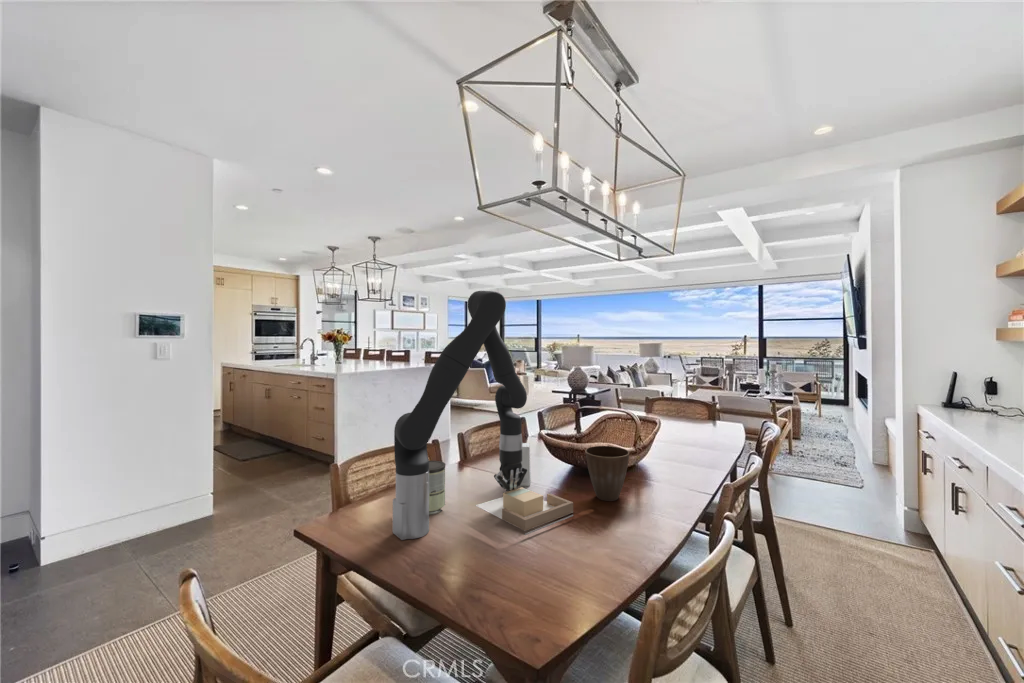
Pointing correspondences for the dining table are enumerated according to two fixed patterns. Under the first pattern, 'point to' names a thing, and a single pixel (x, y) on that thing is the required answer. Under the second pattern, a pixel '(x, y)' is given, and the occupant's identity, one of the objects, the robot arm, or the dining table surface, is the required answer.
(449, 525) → the dining table surface
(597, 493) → the plant pot
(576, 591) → the dining table surface
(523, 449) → the skincare box
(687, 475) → the dining table surface
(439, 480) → the coffee can
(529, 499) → the carton
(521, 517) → the tan flat tray
